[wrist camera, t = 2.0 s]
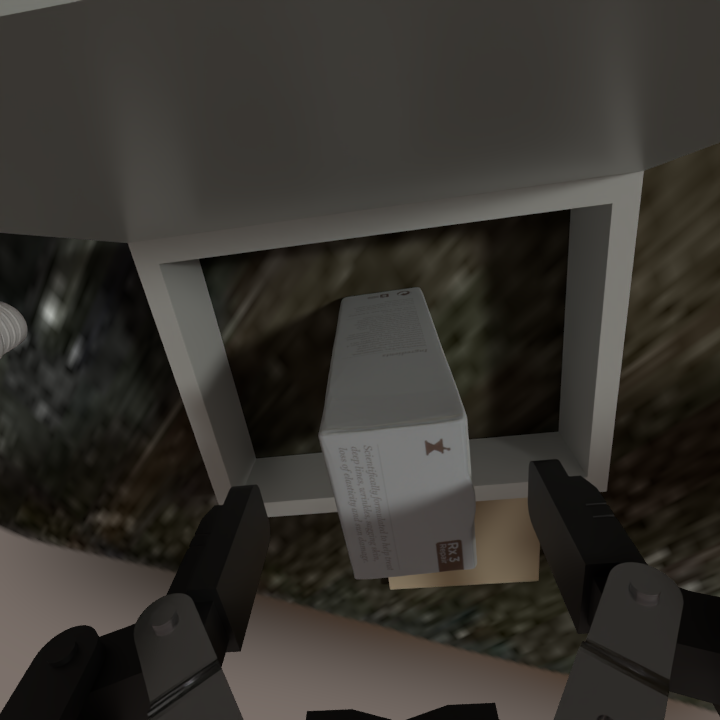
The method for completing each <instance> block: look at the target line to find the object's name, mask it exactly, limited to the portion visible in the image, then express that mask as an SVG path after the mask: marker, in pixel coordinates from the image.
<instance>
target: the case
mask: <svg viewBox="0 0 720 720" xmlns="http://www.w3.org/2000/svg"><path fill="white" fill-rule="evenodd" d="M643 173H644V171H638V172H631V173H624V174H617V175H610V176H603V177H595V178H588V179H581V180H574V181H567V182H560V183H553V184H545V185H538V186H531V187H524V188H517V189H510V190H502V191H495V192H488V193H481V194H474V195H467V196H460V197H452V198H445V199H438V200H431V201H424V202H417V203H410V204H402V205H395V206H388V207H381V208H374V209H367V210H359V211H352V212H345V213H338V214H331V215H324V216H317V217H309V218H302V219H295V220H288V221H281V222H274V223H266V224H259V225H252V226H245V227H238V228H231V229H224V230H216V231H209V232H202V233H195V234H188V235H181V236H174V237H166V238H159V239H152V240H145V241H138V242H131V243H128V245H129V248H130V251H131V254H132V257H133V260H134V263H135V265H136V268H137V271H138V274H139V277H140V280H141V283H142V286H143V288H144V291H145V294H146V297H147V300H148V303H149V306H150V309H151V311H152V314H153V317H154V320H155V323H156V326H157V329H158V332H159V334H160V337H161V340H162V343H163V346H164V349H165V352H166V355H167V357H168V360H169V363H170V366H171V369H172V372H173V375H174V378H175V380H176V383H177V386H178V389H179V392H180V395H181V398H182V401H183V403H184V406H185V409H186V412H187V415H188V418H189V421H190V424H191V426H192V429H193V432H194V435H195V438H196V441H197V444H198V447H199V449H200V452H201V455H202V458H203V461H204V464H205V467H206V470H207V472H208V475H209V478H210V481H211V484H212V487H213V490H214V493H215V495H216V498H217V501H218V504H219V505H223V504H224V501H225V499H226V497H227V494H228V492H229V490H230V488H231V487H233V486H244V485H255V484H256V485H258V487H259V489H260V492H261V495H262V499H263V502H264V506H265V509H266V513H267V516H268V517H276V516H290V515H303V514H316V513H329V512H338V510H337V507H336V503H335V499H334V495H333V491H332V487H331V483H330V479H329V475H328V472H327V468H326V464H325V460H324V456H323V453H312V454H301V455H289V456H278V457H267V458H256V456H255V453H254V449H253V446H252V442H251V439H250V435H249V432H248V428H247V425H246V421H245V418H244V415H243V411H242V408H241V404H240V401H239V397H238V394H237V390H236V387H235V383H234V380H233V376H232V373H231V369H230V366H229V362H228V359H227V355H226V352H225V348H224V345H223V341H222V338H221V334H220V331H219V327H218V324H217V320H216V317H215V313H214V310H213V306H212V303H211V300H210V296H209V293H208V289H207V286H206V282H205V279H204V275H203V272H202V268H201V265H200V261H199V259H201V258H208V257H215V256H223V255H230V254H238V253H245V252H253V251H260V250H268V249H275V248H283V247H290V246H297V245H305V244H312V243H320V242H327V241H335V240H342V239H350V238H357V237H365V236H372V235H379V234H387V233H394V232H402V231H409V230H417V229H424V228H432V227H439V226H447V225H454V224H461V223H469V222H476V221H484V220H491V219H499V218H506V217H514V216H521V215H529V214H536V213H543V212H551V211H558V210H566V209H571V213H570V231H569V249H568V267H567V285H566V304H565V322H564V340H563V358H562V376H561V395H560V413H559V431H558V432H548V433H537V434H526V435H515V436H503V437H492V438H481V439H470V440H469V447H470V462H471V475H472V483H473V487H474V491H475V501H488V500H501V499H514V498H527V497H528V472H529V463H530V461H538V460H549V459H558V460H559V461H560V462H561V464H562V466H563V467H564V469H565V471H566V472H567V474H568V476H582V477H583V478H585V479H586V480H587V481H589V482H590V483H591V484H593V485H594V486H595V487H597V489H598V490H599V492H606V491H607V484H608V476H609V467H610V458H611V450H612V441H613V432H614V424H615V415H616V406H617V398H618V389H619V381H620V372H621V363H622V355H623V346H624V337H625V329H626V320H627V311H628V303H629V294H630V286H631V277H632V268H633V260H634V251H635V242H636V234H637V225H638V216H639V208H640V199H641V191H642V182H643Z"/></svg>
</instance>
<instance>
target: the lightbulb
mask: <svg viewBox="0 0 720 720" xmlns="http://www.w3.org/2000/svg"><path fill="white" fill-rule="evenodd" d="M26 336H27V324H26V321H25V319H24V317H23V316H22V315H21V313H20V312H19V311H18V310H17V309H15V308H14V307H12V306H10V305H8V304H6V303H3V302H0V359H1V357H2V356H3V355H4V354H5V353H6V352H9V351H10V350H11V349H13V348H15V347H16V346H17V345H19V344H20V343H22V342H23V341H24V340H25V338H26Z"/></svg>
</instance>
